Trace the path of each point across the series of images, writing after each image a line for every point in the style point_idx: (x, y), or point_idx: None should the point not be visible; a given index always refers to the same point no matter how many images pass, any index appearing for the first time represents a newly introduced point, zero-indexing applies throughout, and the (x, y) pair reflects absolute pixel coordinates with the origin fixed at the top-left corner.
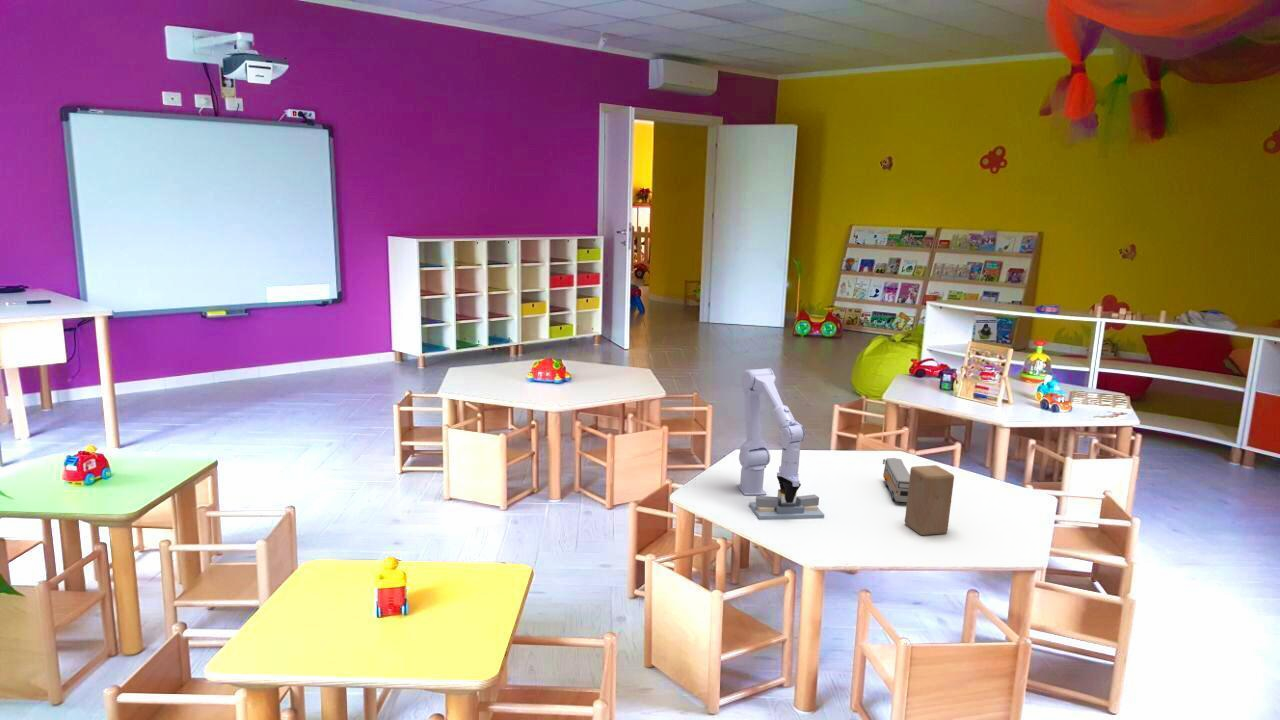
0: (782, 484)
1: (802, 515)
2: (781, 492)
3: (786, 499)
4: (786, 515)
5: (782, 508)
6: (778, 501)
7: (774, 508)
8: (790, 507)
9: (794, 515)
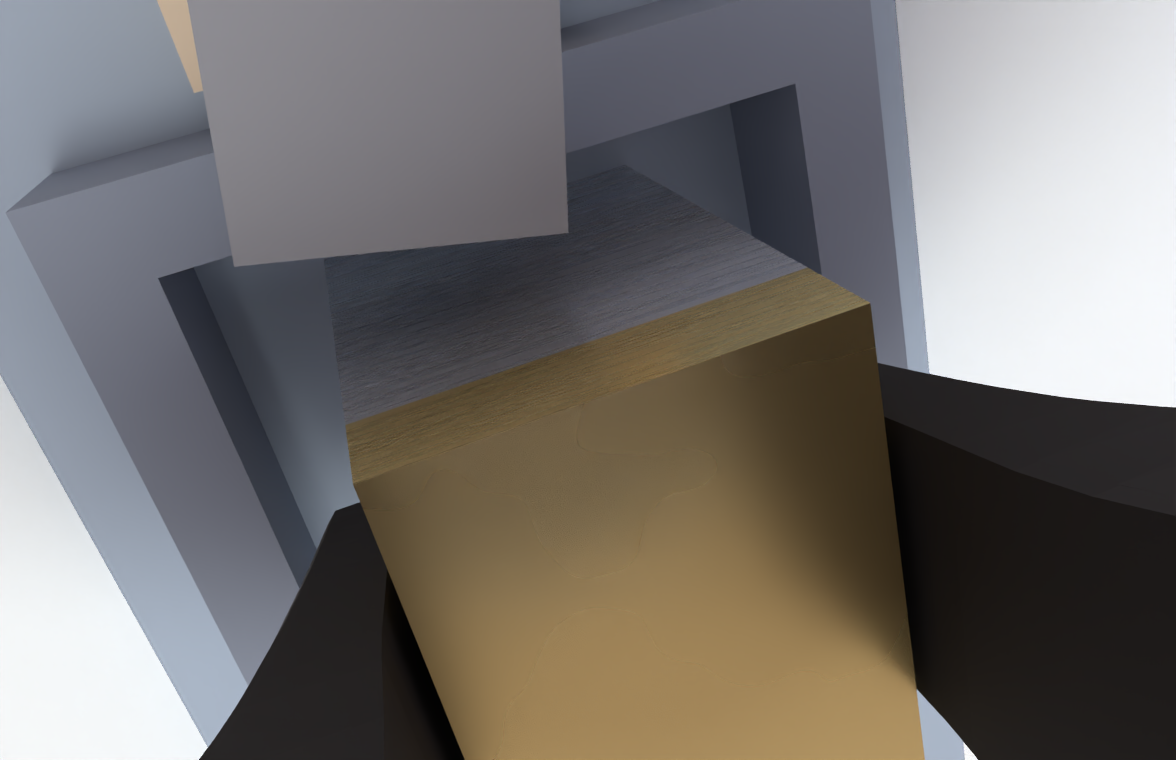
0: (1043, 565)
1: (205, 732)
2: (516, 457)
3: (318, 555)
4: (26, 412)
5: (78, 352)
6: (570, 237)
7: (195, 90)
8: (223, 569)
9: (120, 588)
